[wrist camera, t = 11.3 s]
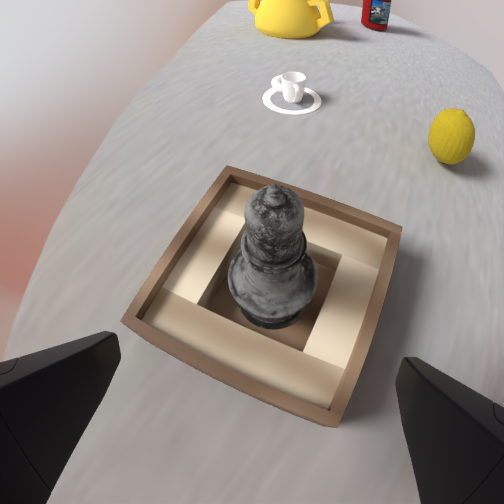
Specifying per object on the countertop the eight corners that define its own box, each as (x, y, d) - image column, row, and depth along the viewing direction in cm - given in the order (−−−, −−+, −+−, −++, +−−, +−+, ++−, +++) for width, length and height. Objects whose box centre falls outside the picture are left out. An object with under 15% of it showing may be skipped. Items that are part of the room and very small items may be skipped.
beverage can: (375, 32, 55) (381, -10, 45) (355, 23, 58) (359, -17, 48) (391, 31, 57) (397, -8, 46) (371, 22, 60) (376, -15, 49)
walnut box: (323, 426, 19) (337, 428, 15) (144, 339, 23) (119, 321, 19) (385, 256, 25) (402, 226, 21) (231, 199, 29) (226, 165, 25)
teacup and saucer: (270, 82, 41) (270, 59, 38) (324, 90, 40) (326, 66, 36) (256, 113, 37) (254, 86, 34) (318, 122, 36) (321, 95, 32)
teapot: (349, 30, 55) (353, -10, 45) (316, 49, 48) (319, -2, 38) (275, 14, 61) (274, -22, 52) (231, 32, 54) (227, -12, 45)
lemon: (412, 146, 33) (431, 94, 26) (444, 146, 33) (465, 98, 26) (434, 179, 30) (460, 125, 23) (466, 177, 30) (492, 128, 23)
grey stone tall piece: (219, 312, 23) (177, 212, 12) (254, 250, 25) (244, 128, 15) (292, 346, 21) (316, 268, 11) (323, 278, 24) (359, 163, 13)
